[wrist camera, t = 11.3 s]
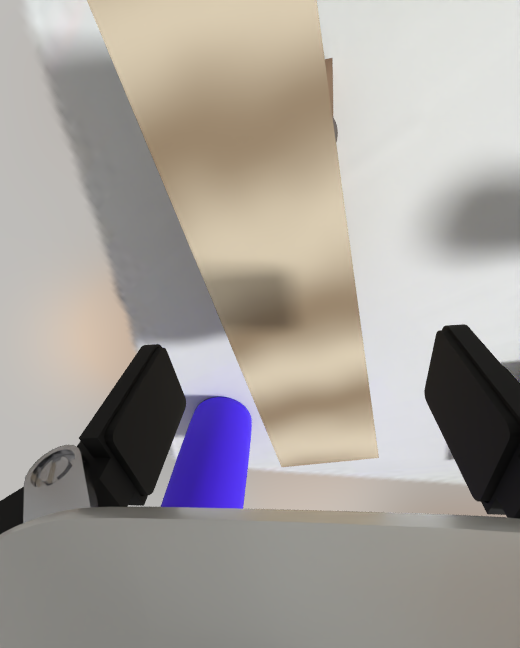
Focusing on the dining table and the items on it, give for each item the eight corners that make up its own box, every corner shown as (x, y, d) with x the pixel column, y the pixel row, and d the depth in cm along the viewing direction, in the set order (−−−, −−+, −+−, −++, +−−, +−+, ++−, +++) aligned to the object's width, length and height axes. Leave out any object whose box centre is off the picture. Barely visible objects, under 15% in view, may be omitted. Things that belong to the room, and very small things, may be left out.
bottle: (221, 384, 38) (88, 886, 13) (266, 419, 41) (231, 885, 15) (181, 413, 41) (16, 850, 16) (225, 442, 44) (143, 854, 19)
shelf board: (154, 44, 14) (85, -2, 9) (296, -19, 12) (301, -112, 8) (282, 406, 26) (281, 467, 21) (361, 395, 24) (378, 457, 20)
